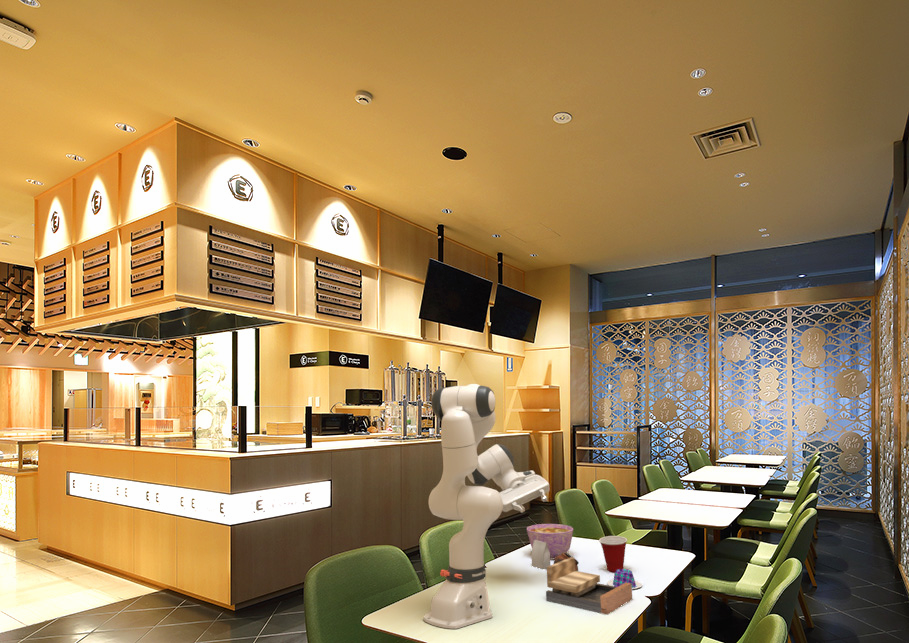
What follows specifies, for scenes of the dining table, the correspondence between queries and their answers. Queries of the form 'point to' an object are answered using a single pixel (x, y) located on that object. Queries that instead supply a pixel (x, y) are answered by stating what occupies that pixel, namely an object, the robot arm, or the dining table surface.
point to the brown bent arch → (565, 556)
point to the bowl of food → (552, 537)
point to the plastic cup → (613, 551)
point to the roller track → (595, 598)
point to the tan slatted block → (570, 578)
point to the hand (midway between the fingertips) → (534, 505)
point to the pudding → (624, 578)
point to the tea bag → (540, 555)
